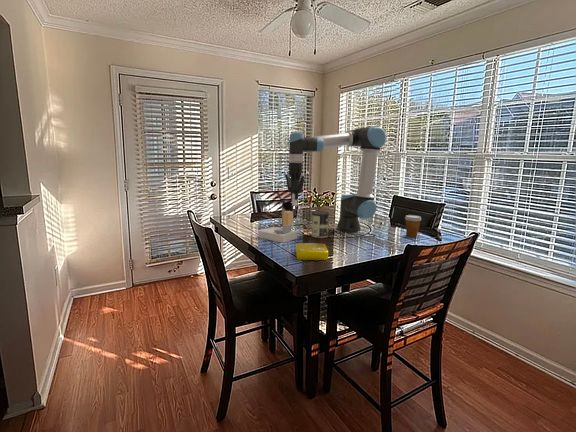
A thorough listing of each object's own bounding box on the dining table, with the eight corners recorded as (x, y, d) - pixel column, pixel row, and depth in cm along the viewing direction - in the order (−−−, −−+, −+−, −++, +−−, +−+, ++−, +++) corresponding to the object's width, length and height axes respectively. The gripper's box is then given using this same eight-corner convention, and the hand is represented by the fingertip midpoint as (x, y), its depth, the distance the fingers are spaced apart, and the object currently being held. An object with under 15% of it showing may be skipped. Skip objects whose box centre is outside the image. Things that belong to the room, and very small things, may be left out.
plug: (291, 232, 213) (292, 211, 211) (287, 233, 210) (288, 212, 208) (286, 231, 216) (286, 210, 213) (282, 232, 212) (282, 211, 210)
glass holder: (279, 223, 236) (279, 202, 233) (298, 222, 240) (299, 201, 237) (283, 226, 228) (283, 204, 225) (303, 225, 232) (303, 203, 229)
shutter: (291, 231, 197) (291, 224, 196) (284, 233, 192) (284, 226, 191) (281, 229, 201) (282, 222, 201) (274, 231, 196) (274, 224, 195)
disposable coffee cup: (420, 234, 213) (422, 215, 210) (419, 238, 204) (421, 218, 202) (404, 232, 217) (406, 214, 214) (402, 236, 208) (404, 216, 206)
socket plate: (297, 237, 200) (297, 231, 199) (282, 242, 189) (283, 235, 188) (273, 232, 210) (273, 226, 209) (258, 237, 199) (258, 230, 198)
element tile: (324, 251, 176) (324, 242, 175) (328, 260, 161) (329, 250, 160) (295, 251, 176) (295, 242, 175) (297, 260, 161) (297, 250, 160)
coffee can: (328, 234, 210) (329, 211, 207) (327, 238, 200) (328, 214, 197) (312, 233, 212) (312, 210, 209) (309, 237, 202) (310, 213, 199)
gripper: (281, 161, 185) (280, 204, 189) (301, 162, 177) (300, 207, 182) (290, 161, 191) (289, 203, 195) (309, 162, 183) (307, 205, 188)
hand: (294, 205), depth 189 cm, fingers closed
